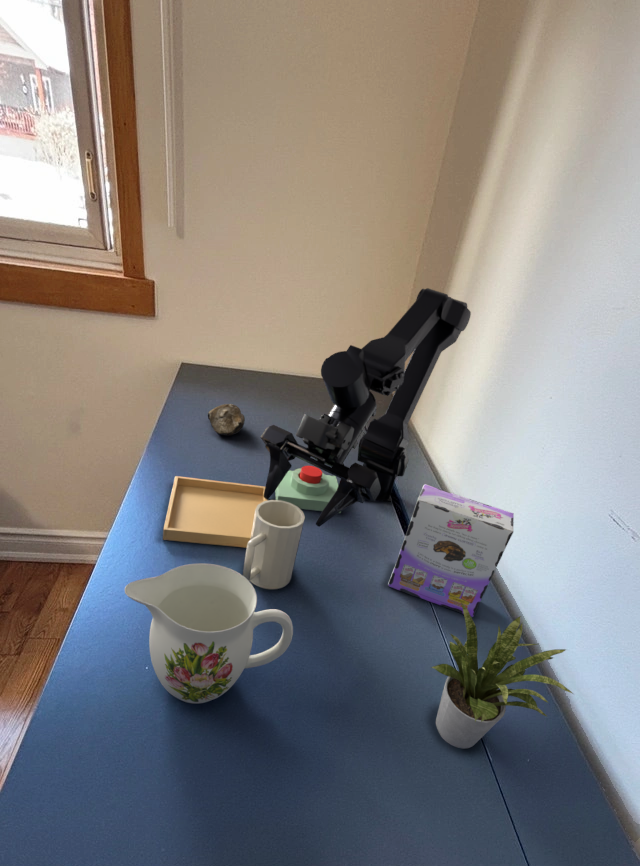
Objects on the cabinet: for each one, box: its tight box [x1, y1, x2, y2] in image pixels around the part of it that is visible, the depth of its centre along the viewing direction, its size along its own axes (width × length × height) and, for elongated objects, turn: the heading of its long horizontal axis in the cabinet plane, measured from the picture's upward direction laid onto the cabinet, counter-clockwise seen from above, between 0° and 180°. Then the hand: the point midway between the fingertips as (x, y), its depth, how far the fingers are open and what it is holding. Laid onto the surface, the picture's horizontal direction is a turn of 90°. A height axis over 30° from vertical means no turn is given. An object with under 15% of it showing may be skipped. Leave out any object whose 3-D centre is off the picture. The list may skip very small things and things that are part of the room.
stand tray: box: [162, 475, 269, 549], centre depth 90 cm, size 16×16×2 cm
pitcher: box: [124, 562, 294, 704], centre depth 59 cm, size 11×18×14 cm, turn 101°
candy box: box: [387, 483, 515, 618], centre depth 80 cm, size 14×6×16 cm, turn 71°
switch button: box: [300, 465, 323, 484], centre depth 99 cm, size 4×4×2 cm
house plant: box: [430, 601, 574, 749], centre depth 58 cm, size 14×14×16 cm
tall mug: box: [241, 499, 306, 590], centre depth 76 cm, size 10×7×11 cm
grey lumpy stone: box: [207, 403, 246, 436], centre depth 116 cm, size 8×7×10 cm
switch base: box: [274, 467, 342, 514], centre depth 100 cm, size 12×10×4 cm
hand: (290, 511), depth 77 cm, fingers open, 9 cm apart
